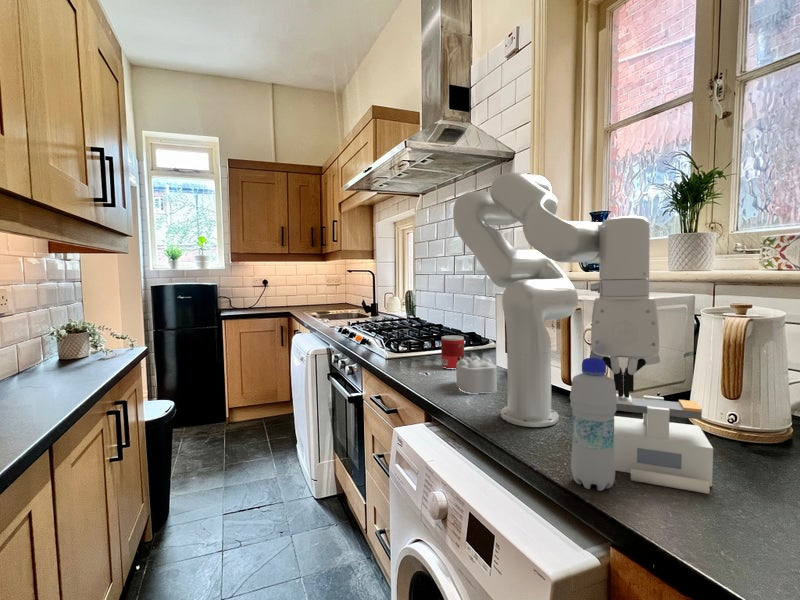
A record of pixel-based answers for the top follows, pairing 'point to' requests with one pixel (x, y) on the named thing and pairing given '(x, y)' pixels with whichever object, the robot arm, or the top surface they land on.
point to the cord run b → (670, 481)
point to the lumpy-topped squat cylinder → (476, 375)
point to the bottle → (593, 425)
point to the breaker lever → (676, 408)
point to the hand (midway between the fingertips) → (623, 394)
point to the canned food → (452, 350)
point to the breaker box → (662, 445)
